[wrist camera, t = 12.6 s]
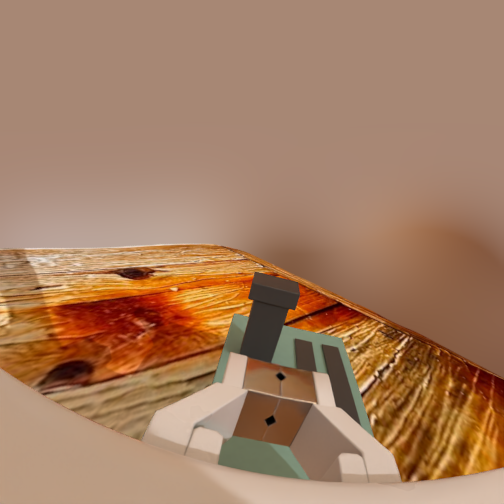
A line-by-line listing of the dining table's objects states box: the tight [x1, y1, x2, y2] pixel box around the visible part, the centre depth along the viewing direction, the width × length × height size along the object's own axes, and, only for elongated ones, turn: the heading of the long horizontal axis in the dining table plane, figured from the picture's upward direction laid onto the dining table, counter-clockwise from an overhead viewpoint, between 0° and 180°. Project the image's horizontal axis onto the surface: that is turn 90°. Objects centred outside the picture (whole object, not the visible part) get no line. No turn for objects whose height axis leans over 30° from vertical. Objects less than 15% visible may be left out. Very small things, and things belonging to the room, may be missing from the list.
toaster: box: [212, 314, 374, 480], centre depth 22 cm, size 11×18×9 cm, turn 175°
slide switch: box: [239, 272, 300, 362], centre depth 22 cm, size 3×2×6 cm
